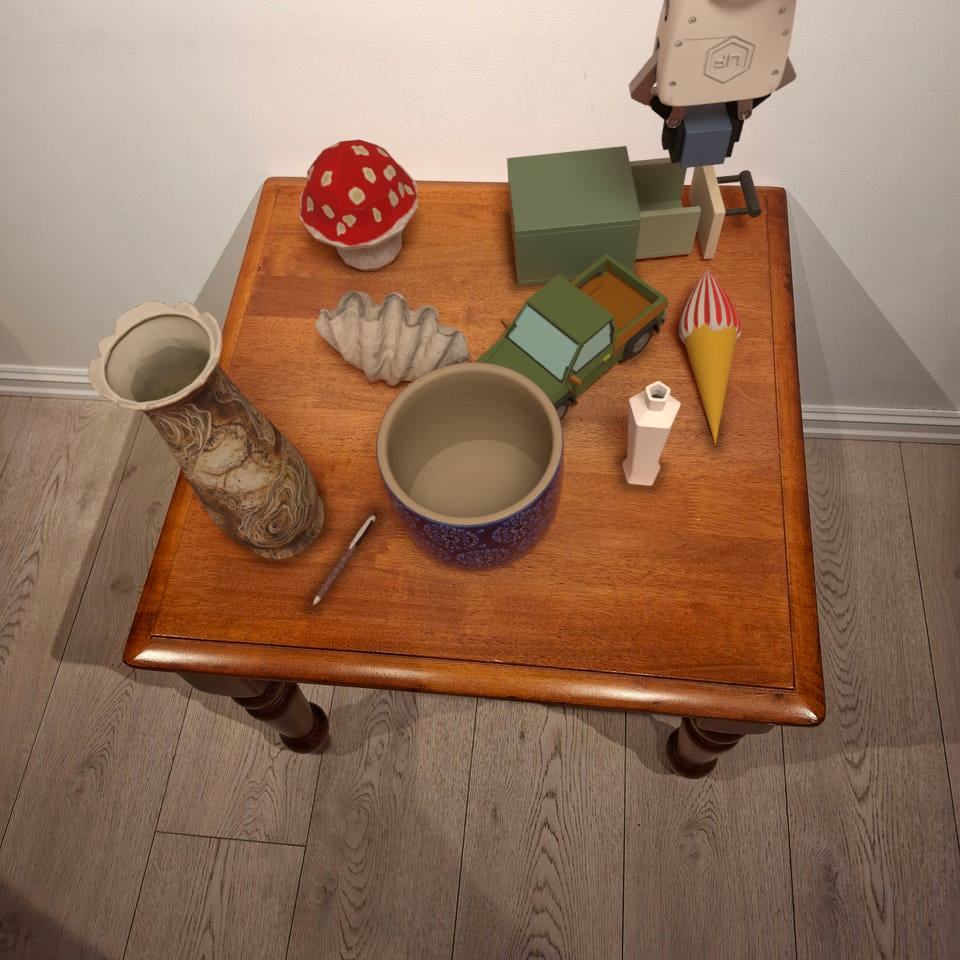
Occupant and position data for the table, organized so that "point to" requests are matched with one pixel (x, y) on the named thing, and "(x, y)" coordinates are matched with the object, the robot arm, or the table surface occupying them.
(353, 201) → the decorative mushroom
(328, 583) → the pen
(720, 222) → the drawer
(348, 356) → the seashell
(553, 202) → the cabinet
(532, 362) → the toy truck
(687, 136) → the block
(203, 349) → the vase
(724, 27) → the robot arm
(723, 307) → the ice cream cone
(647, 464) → the perfume bottle
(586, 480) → the table surface
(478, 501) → the planter
